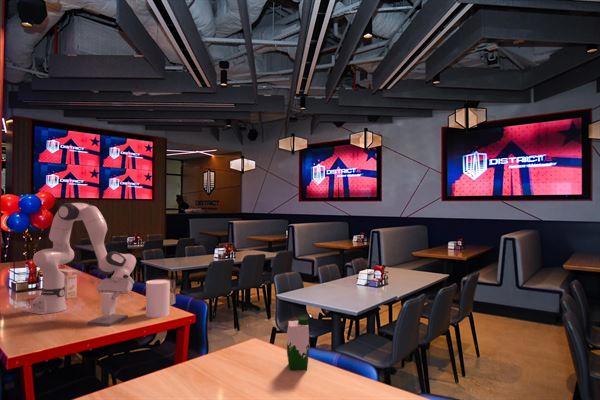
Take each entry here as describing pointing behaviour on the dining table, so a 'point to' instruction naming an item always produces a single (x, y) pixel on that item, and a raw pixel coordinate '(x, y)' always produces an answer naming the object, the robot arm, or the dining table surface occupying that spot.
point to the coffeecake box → (70, 283)
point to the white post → (108, 303)
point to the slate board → (107, 320)
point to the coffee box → (172, 292)
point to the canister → (157, 298)
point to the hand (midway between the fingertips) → (108, 298)
